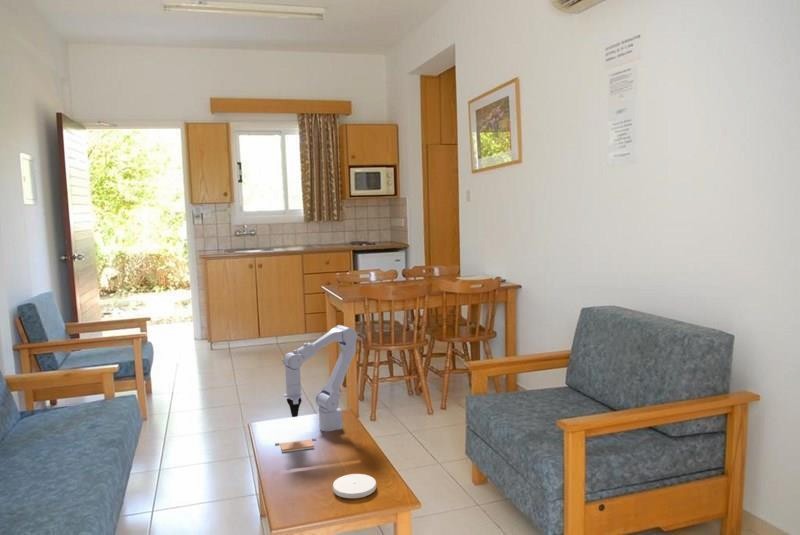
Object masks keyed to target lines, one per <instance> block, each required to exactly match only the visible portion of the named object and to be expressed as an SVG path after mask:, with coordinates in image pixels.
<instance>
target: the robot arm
mask: <svg viewBox="0 0 800 535" xmlns="http://www.w3.org/2000/svg"><path fill="white" fill-rule="evenodd" d="M358 338H359V336H358V334H357V332H356V330H355V329H354V328H353V327H348V326H345V325H342V324H338V325H336V326H334V327H333V328H331V329H330V330H329V331H328V332H327V333H325V334H324V335H322V336H321V337H319V338H318V339H316V340H315V341H314V342H312V343H311V342H304V343H303V344H302V345H301V346H300V347H299V348H297V349H294V350H293V352H288V353H286V354H285V355H284V357H283V359H282V360H281V361H282V364H283V365H284V367H285V368H284V369H285V386H286V387H285V388H286V390H285V392H286V393H283V397H284V398H286V403H287V404H288V406H289V410H290V415H291V417H292V418H296V417H298V416H299V411H300V410H299V409H300V406H301V403H302V401H303V400H302V381H301V367H302V365H303V363H304V362H306V361H308V360H309V359H311V358H312V357H315V356H316V354H317V351H319V350H320V349H322V348H323V347H325V346H327V345H329V344H331V343H333V342H337V343H338V344H339V346H340V349H341V350H340V353H339V356H338V358H337V360H336V363H335V365H334V366H333V367H334V368H333V370H332V371H331V373H330V374H331V375H330V377H329V378H328V381H327V383H326V385H324V386H323V387H322V388H321V389H320V391H319V392H318V393H317V394H316V396H315V404H316V405H318V420H319V421H318V423H319V430H320V431H321V432H333V431H339V430H343V413H342V412H343V411H342V408H341V407H339V405H340V399H341V392H340V388H341V386H342V383H343V381H344V379H345V377H346V375H347V372H348V369H349V367H350V365H351V362H352V361H353V358H354V355H355V353H356V350H357V340H358Z"/></svg>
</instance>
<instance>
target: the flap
mask: <svg viewBox="0 0 800 535" xmlns="http://www.w3.org/2000/svg"><path fill="white" fill-rule="evenodd" d="M279 444H280V445H279V446H280V450H281V453H288V452H295V451H304V450H310V449H315V445H314V441H312V438H311V439H303V440H296V441H289V442H279Z"/></svg>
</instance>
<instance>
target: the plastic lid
mask: <svg viewBox="0 0 800 535" xmlns="http://www.w3.org/2000/svg"><path fill="white" fill-rule="evenodd" d="M376 488H377V481H376V479H375V478H374V477H372V476H371V475H368V474H364V473H351V474H350V473H349V474H345V475H343V476H340V477H337V478H336V479H335V480H333V484H332V491H333V493H334V494H335V495H336V496H338V497H341V498H344V499H359V498H365V497H367V496H369V495H371V494H373V493H374V492H375V491H376Z"/></svg>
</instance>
